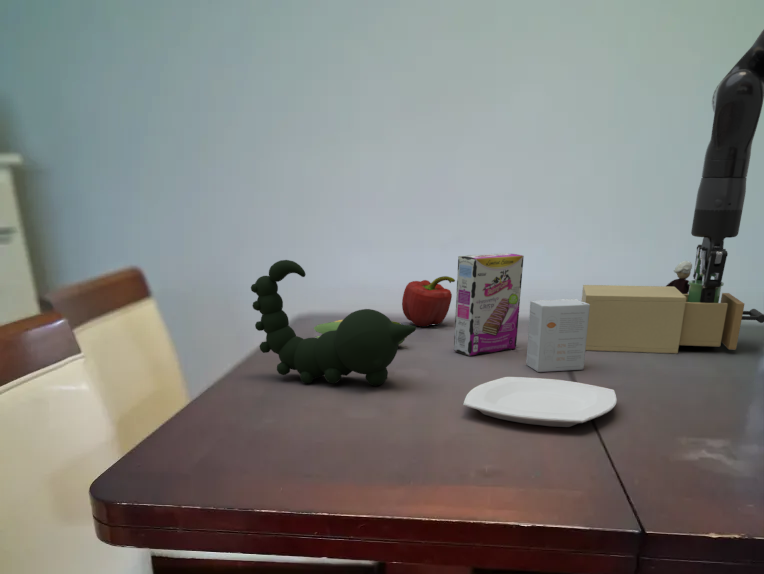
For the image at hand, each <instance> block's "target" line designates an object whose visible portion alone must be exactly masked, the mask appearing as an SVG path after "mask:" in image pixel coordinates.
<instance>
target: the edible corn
mask: <svg viewBox="0 0 764 574" xmlns="http://www.w3.org/2000/svg"><path fill="white" fill-rule="evenodd" d="M342 320H343V319H338V320H334V321H330V322H323V323H319V324H317V325H316V326H314V327H313V330H314V331H315V332H317V333H319V334H321V335H322V334H324V333H325V332H328V331H335V330H337V328H338V326H339V324H340V323H341V321H342ZM391 321H392V322H393V323H394V324H401V323H400V322H399V321H393V320H391ZM321 335H318V336H316V335H315V338H319V337H320V336H321ZM407 337H408V336H407ZM407 337H406V338H404V339H403V340H402V341H400V342H399V344H398V346H399V345H401V344H402V343H403V342H404V341H405V340H406V339H407Z"/></svg>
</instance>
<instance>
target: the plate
mask: <svg viewBox="0 0 764 574" xmlns="http://www.w3.org/2000/svg"><path fill="white" fill-rule="evenodd" d="M617 401H618V398H617V395H616V391H615V390H614V389H613V388H607V387H603V386H598V385H594V384H588V383H582V382H578V381H577V382H576V381H570V380H563V379H554V378H543V377H542V378H539V377H525V376H524V377H523V376H504V377H501V378H496V379H494V380H490V381H486V382H484V383H481V384H478V385H477V386H475V387H473V388H472V389H471V390H469V392H468V393H467V394H466V396H465V398H464V400H463V406H464V407H466V408H470V409H473V410H478V411H479V412H480V413H481V414H483V415H484V416H488V417H492V418H495V419H499V420H504V421H509V422H514V423H520V424H527V425H532V426H533V425H534V426H543V427H553V428H555V427H556V428H571V427H573V426H576V425H579V424H583V423H587V422H588V421H591V420H594V419H596V418H599V417H601V416H603V415H606V414H607V413H609V412H610V411H612V410H613V409H614V408H615V406H616V404H617Z"/></svg>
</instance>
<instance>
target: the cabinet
mask: <svg viewBox="0 0 764 574" xmlns="http://www.w3.org/2000/svg"><path fill="white" fill-rule="evenodd" d="M581 301H583V302H585V303H588V304H590V308H589V319H588V329H587V339H586V349H585V351H593V352H595V351H596V352H598V351H600V352H620V353H621V352H623V353H651V354H652V353H653V354H678V353H679V348H680V345H679V342H680V335H681V329H682V323H683V316H684V310H685V303H686V297H685V296H684V295H683V294H682V293H681V292H680V291H679V290H678V289H677V288H675V287H670V286H666V285H663V286H662V285H661V286H660V285H616V284H615V285H612V284H611V285H609V284H607V285H606V284H582V293H581Z"/></svg>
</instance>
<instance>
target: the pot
mask: <svg viewBox="0 0 764 574" xmlns="http://www.w3.org/2000/svg"><path fill="white" fill-rule="evenodd" d="M688 281H689V282H688V284H689V285H690V287H689V292H688V299H687V302H697V303H699V302H700V296H701V290H702V287H701V285H702V280H694V279H693V280H688ZM724 284H725V283H724V282H723V281H721V285H720V287H718V288H717V290H716V289H715V290H716V292H715V298H714V303H720V298H721V297H720V296H721V291H722V287H723V286H724Z"/></svg>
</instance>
